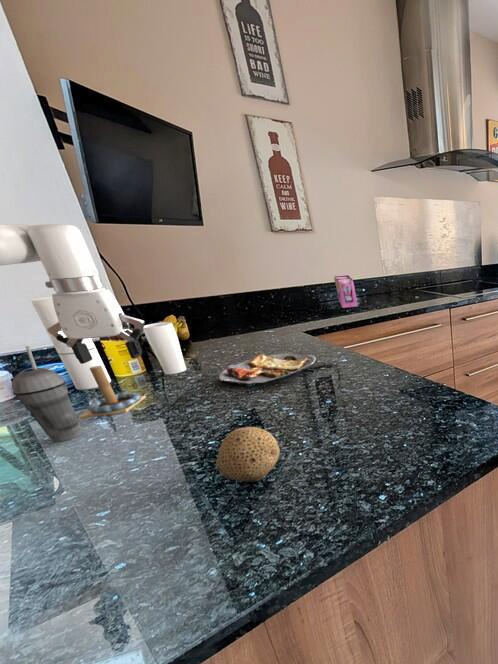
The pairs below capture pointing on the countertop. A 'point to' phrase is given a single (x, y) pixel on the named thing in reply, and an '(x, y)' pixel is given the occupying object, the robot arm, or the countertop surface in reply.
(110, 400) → the ring stand
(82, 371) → the cylindrical container
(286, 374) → the food plate
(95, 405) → the ring
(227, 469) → the natural sponge
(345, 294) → the gum box
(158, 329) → the drinking glass
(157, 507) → the countertop surface
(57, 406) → the beverage cup
